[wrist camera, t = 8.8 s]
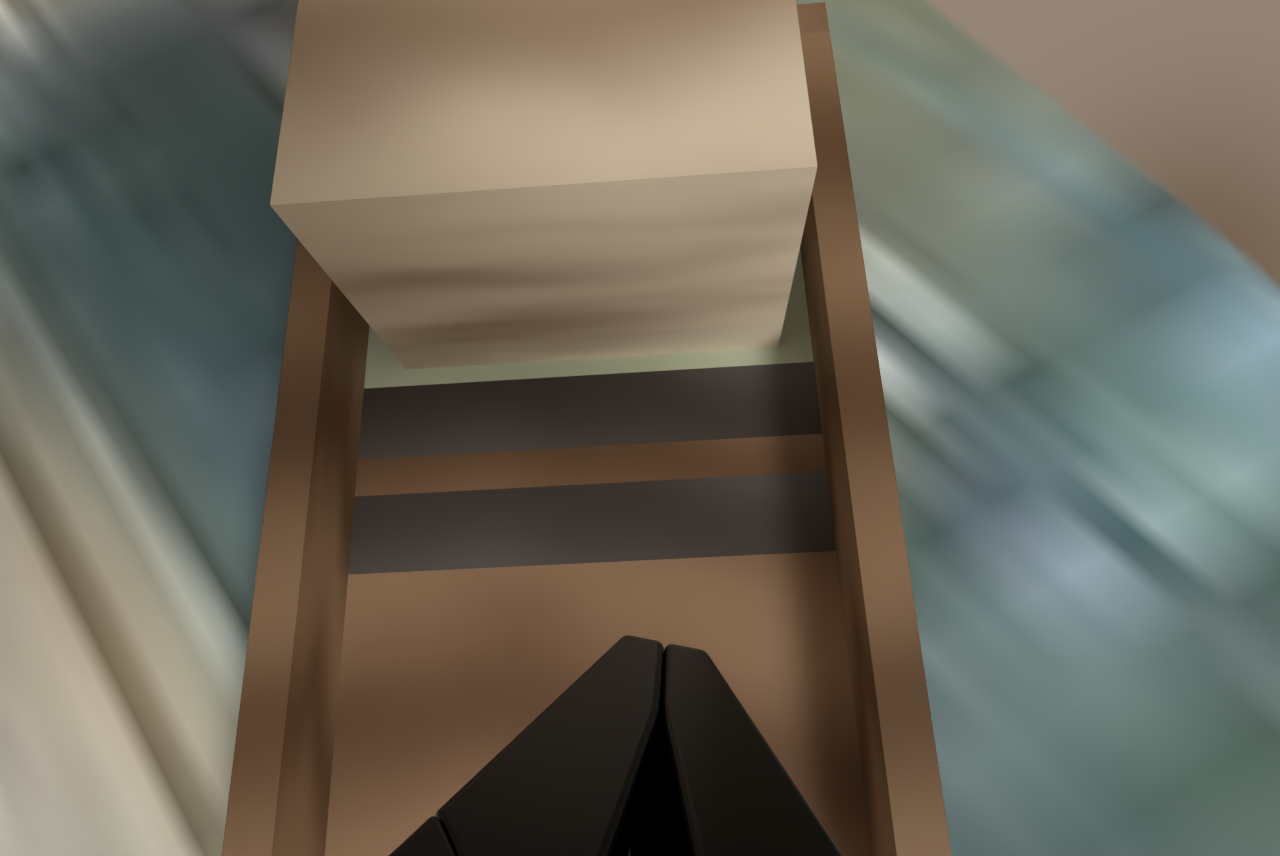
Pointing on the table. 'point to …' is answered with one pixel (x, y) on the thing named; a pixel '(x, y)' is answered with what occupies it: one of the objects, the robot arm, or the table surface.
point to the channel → (583, 561)
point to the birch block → (550, 172)
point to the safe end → (791, 349)
